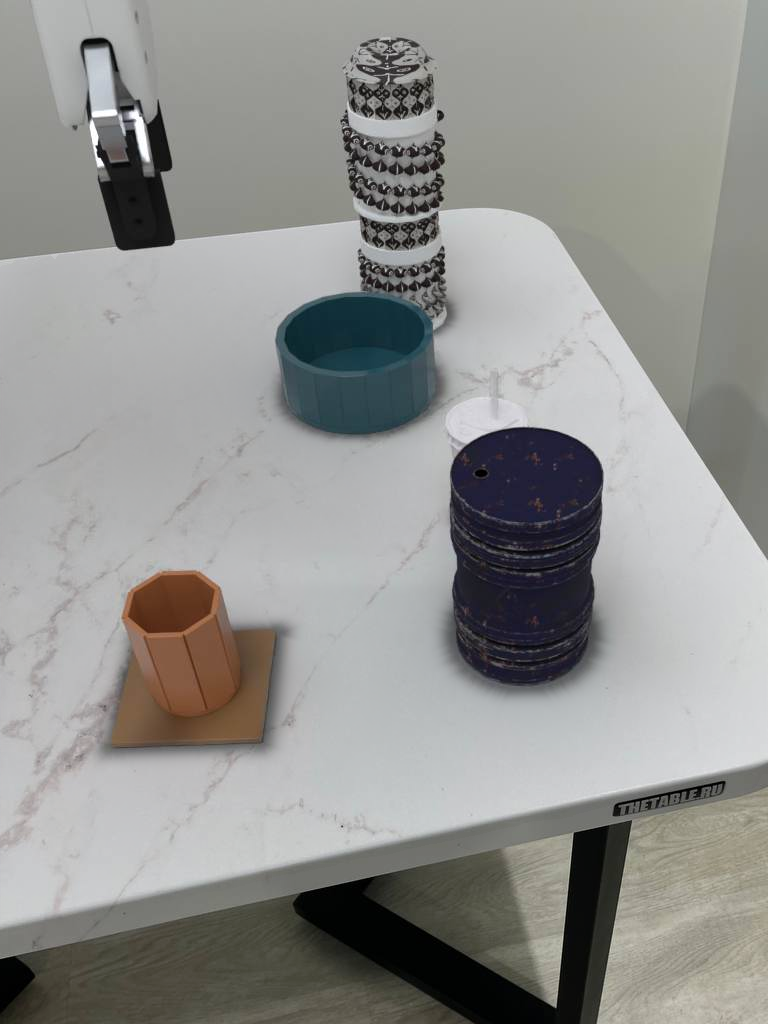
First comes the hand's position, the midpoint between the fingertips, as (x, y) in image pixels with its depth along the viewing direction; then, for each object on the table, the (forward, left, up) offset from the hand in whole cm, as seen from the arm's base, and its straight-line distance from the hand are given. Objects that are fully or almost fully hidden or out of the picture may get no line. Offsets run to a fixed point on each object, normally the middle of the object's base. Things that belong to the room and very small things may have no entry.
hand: (147, 206), depth 61 cm
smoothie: (+20, +4, -28) cm, 35 cm away
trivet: (-1, -13, -28) cm, 31 cm away
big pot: (+9, +23, -28) cm, 38 cm away
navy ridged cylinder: (+22, -9, -28) cm, 37 cm away
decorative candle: (+13, +36, -28) cm, 48 cm away
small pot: (-1, -13, -28) cm, 31 cm away
